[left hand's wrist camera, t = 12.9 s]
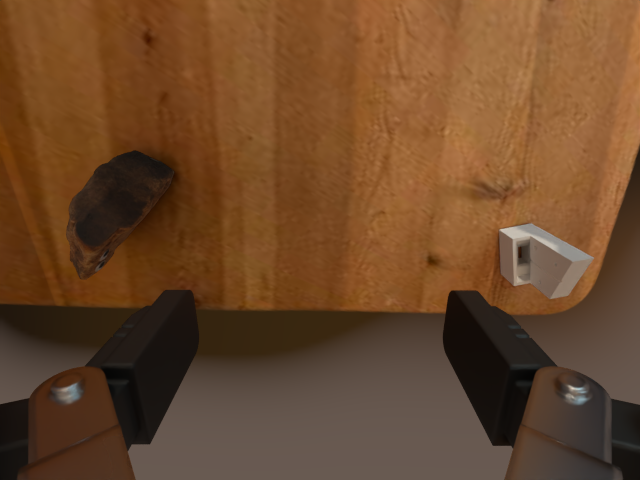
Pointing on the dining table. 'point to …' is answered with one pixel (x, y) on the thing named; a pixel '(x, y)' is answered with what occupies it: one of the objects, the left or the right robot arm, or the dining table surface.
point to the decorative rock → (113, 207)
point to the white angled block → (540, 260)
